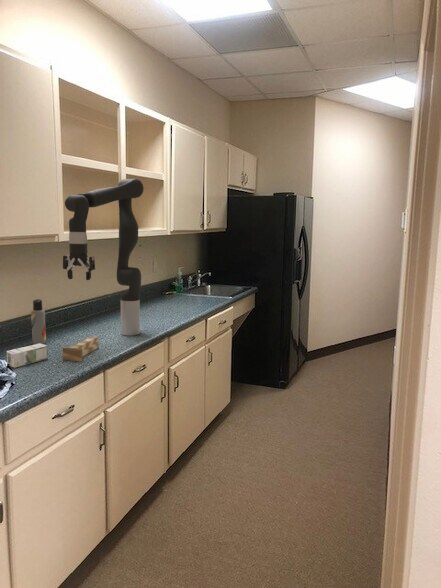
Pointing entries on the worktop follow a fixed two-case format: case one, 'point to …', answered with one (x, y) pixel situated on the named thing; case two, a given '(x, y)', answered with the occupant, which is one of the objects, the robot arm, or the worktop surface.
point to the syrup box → (27, 355)
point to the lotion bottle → (38, 323)
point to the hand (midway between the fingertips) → (79, 279)
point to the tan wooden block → (80, 349)
